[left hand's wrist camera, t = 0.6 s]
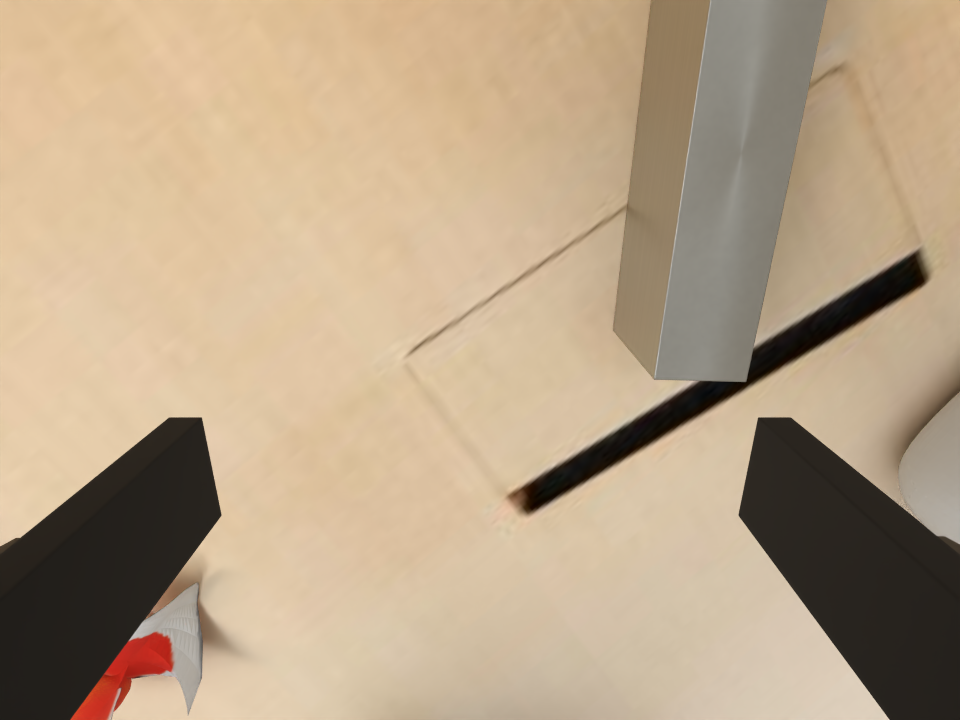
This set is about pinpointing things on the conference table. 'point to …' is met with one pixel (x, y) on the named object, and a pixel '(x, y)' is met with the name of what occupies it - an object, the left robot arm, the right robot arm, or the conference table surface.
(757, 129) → the bar
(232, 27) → the conference table surface
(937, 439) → the projector
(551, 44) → the conference table surface
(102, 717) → the fish
